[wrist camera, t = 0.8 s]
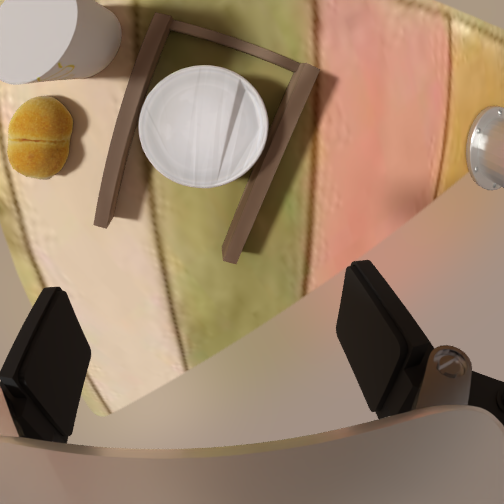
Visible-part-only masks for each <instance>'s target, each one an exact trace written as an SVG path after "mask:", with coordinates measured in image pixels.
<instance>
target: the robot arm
mask: <svg viewBox="0 0 504 504" xmlns="http://www.w3.org/2000/svg"><path fill="white" fill-rule="evenodd" d="M466 159H467V165H468V170H469V172H470V175H471V177H472V178H473V180H474V181H475V182H476V183H477V184H478V185H479V186H481V187H482V188H484V189H487V190H496V189H498V188H501V187H503V188H504V108H503V107H499V106H490V107H487V108H485V109H484V110H482V111H481V112H480V113H479V114H478V115H477V117H476V118H475V120H474V122H473V124H472V126H471V128H470V131H469V135H468V139H467V146H466ZM336 333H337V337H338V339H339V341H340V343H341V345H342V348H343V350H344V352H345V354H346V356H347V359H348V361H349V363H350V365H351V368H352V370H353V372H354V374H355V377H356V379H357V381H358V383H359V386H360V388H361V390H362V392H363V395H364V397H365V399H366V401H367V404H368V406H369V408H370V410H371V411H372V412H376V414H377V416H378V419H379V420H375V421H371V422H367V423H363V424H359V425H355V426H351V427H346V428H341V429H337V430H332V431H328V432H323V433H318V434H313V435H308V436H302V437H296V438H291V439H284V440H278V441H270V442H263V443H255V444H246V445H236V446H225V447H213V448H195V449H194V448H193V449H124V448H107V447H94V446H84V445H74V444H67V439H68V436H70V435H71V434H72V432H73V427H74V422H75V418H76V413H77V409H78V405H79V401H80V396H81V392H82V388H83V384H84V381H85V377H86V373H87V369H88V366H89V362H90V359H91V349H90V346H89V344H88V342H87V340H86V338H85V335H84V333H83V331H82V329H81V326H80V324H79V322H78V320H77V317H76V315H75V313H74V310H73V308H72V305H71V303H70V300H69V298H68V295H67V293H66V292H65V291H62V289H61V288H60V287H47V288H44V289H43V290H42V292H41V293H40V295H39V297H38V299H37V300H36V302H35V304H34V306H33V308H32V309H31V311H30V313H29V315H28V317H27V318H26V321H25V322H24V324H23V326H22V328H21V330H20V332H19V334H18V336H17V338H16V340H15V342H14V344H13V346H12V348H11V350H10V352H9V354H8V356H7V358H6V360H5V362H4V365H3V367H2V369H1V371H0V380H1V382H0V504H504V382H502V381H499V380H496V379H493V378H490V377H488V376H485V375H482V374H479V373H477V372H474V371H472V364H471V361H470V359H469V357H468V356H467V355H466V354H465V353H464V352H463V351H462V350H460V349H458V348H456V347H453V346H448V345H443V346H439V347H436V348H435V349H434V347H433V346H432V345H431V343H430V341H429V340H428V338H427V337H426V335H425V334H424V333H423V331H422V330H421V328H420V327H419V325H418V324H417V323H416V321H415V320H414V319H413V317H412V316H411V314H410V313H409V311H408V310H407V309H406V307H405V306H404V305H403V303H402V302H401V301H400V299H399V298H398V297H397V295H396V294H395V293H394V291H393V290H392V288H391V287H390V286H389V285H388V283H387V282H386V281H385V279H384V278H383V277H382V275H381V274H380V273H379V271H378V270H377V269H376V268H375V266H374V265H373V264H372V262H371V261H369V260H363V261H354V262H352V263H351V266H348V267H347V268H346V273H345V279H344V285H343V291H342V297H341V303H340V309H339V314H338V319H337V325H336ZM388 416H389V417H388ZM385 417H386V418H385ZM381 418H382V419H381ZM52 441H53V442H52Z"/></svg>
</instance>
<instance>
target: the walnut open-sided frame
mask: <svg viewBox="0 0 504 504" xmlns="http://www.w3.org/2000/svg"><path fill="white" fill-rule="evenodd" d="M170 30H172V31H175V32H179V33H183V34H187V35H190V36H194V37H197V38H201V39H204V40H207V41H211V42H214V43H217V44H220V45H223V46H226V47H229V48H232V49H235V50H238V51H241V52H244V53H246V54H249V55H252V56H255V57H257V58H260V59H262V60H265V61H268V62H270V63H273V64H275V65H278V66H280V67H282V68H285V69H287V70H289V71H292V72H294V73H293V76H292V78H291V80H290V82H289V85H288V87H287V89H286V92H285V94H284V96H283V99H282V101H281V103H280V106H279V108H278V110H277V113H276V115H275V117H274V120H273V122H272V125H271V127H270V129H269V132H268V136H267V140H266V144H265V146H264V149H263V151H262V153H261V155H260V157H259V158H258V160H257V161H256V163H255V165H254V168H253V170H252V173H251V175H250V178H249V180H248V183H247V185H246V188H245V190H244V193H243V195H242V197H241V200H240V202H239V205H238V207H237V210H236V212H235V215H234V218H233V220H232V223H231V225H230V228H229V230H228V233H227V235H226V238H225V240H224V243H223V246H222V254H223V261H226V262H229V263H233V264H237V261H238V259H239V256H240V254H241V252H242V249H243V247H244V245H245V242H246V240H247V238H248V235H249V233H250V231H251V228H252V226H253V224H254V221H255V219H256V216H257V214H258V212H259V209H260V207H261V205H262V202H263V200H264V198H265V195H266V193H267V191H268V188H269V186H270V184H271V181H272V179H273V177H274V174H275V172H276V170H277V167H278V165H279V163H280V161H281V158H282V156H283V154H284V151H285V149H286V147H287V144H288V142H289V140H290V137H291V135H292V133H293V131H294V128H295V126H296V124H297V121H298V119H299V117H300V114H301V112H302V110H303V108H304V105H305V103H306V101H307V98H308V96H309V94H310V92H311V89H312V87H313V85H314V82H315V80H316V78H317V76H318V73H319V71H320V69H318V68H316V67H314V66H312V65H310V64H307V63H301V64H300V63H298V62H295V61H293V60H291V59H288V58H286V57H284V56H281V55H279V54H276V53H274V52H272V51H269V50H266V49H264V48H261V47H259V46H256V45H253V44H251V43H248V42H245V41H242V40H239V39H237V38H234V37H231V36H228V35H225V34H222V33H218V32H215V31H212V30H209V29H205V28H202V27H199V26H195V25H191V24H188V23H184V22H180V21H176V20H173V18H172V17H171V16H169V15H165V14H161V13H156V12H155V15H154V17H153V19H152V21H151V24H150V26H149V29H148V31H147V33H146V36H145V38H144V41H143V44H142V46H141V49H140V51H139V54H138V57H137V59H136V62H135V65H134V68H133V71H132V73H131V76H130V79H129V82H128V85H127V88H126V91H125V94H124V98H123V101H122V104H121V107H120V111H119V114H118V118H117V121H116V125H115V128H114V132H113V136H112V140H111V143H110V147H109V151H108V156H107V160H106V164H105V168H104V173H103V178H102V182H101V187H100V192H99V197H98V203H97V208H96V214H95V220H94V225H95V226H99V227H102V228H106V229H107V227H108V225H109V224H110V222H111V220H112V219H113V217H114V212H115V207H116V203H117V198H118V193H119V189H120V185H121V181H122V176H123V172H124V168H125V165H126V161H127V157H128V153H129V149H130V146H131V142H132V139H133V135H134V132H135V128H136V125H137V122H138V118H139V115H140V112H141V109H142V106H143V103H144V100H145V97H146V94H147V91H148V88H149V85H150V82H151V79H152V77H153V74H154V71H155V68H156V66H157V63H158V60H159V58H160V55H161V53H162V50H163V47H164V45H165V43H166V40H167V38H168V35H169V33H170Z"/></svg>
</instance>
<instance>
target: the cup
mask: <svg viewBox="0 0 504 504" xmlns="http://www.w3.org/2000/svg"><path fill="white" fill-rule="evenodd" d="M121 38H122V31H121V25H120V23H119V20H118V19H117V17H116V16H115V15H114V14H113V13H112V12H111V11H110V10H108V9H106V8H105V7H103V6H102V5H100V4H98V3H97V2H95V1H94V0H5V1H4V2H3V4H2V5H1V6H0V80H1V81H3V82H5V83H8V84H26V83H34V82H44V81H54V80H67V79H82V78H88V77H91V76H93V75H95V74H97V73H99V72H100V71H102V70H103V69H104V68H106V67H107V66H108V65H109V64H110V62H111V61H112V60H113V59H114V57H115V56H116V54H117V52H118V49H119V47H120V43H121Z"/></svg>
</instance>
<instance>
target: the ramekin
mask: <svg viewBox="0 0 504 504" xmlns="http://www.w3.org/2000/svg"><path fill="white" fill-rule="evenodd" d="M267 136H268V115H267V111H266V108H265V105H264V102H263V100H262V98H261V96H260V95H259V93H258V92H257V90H256V89H255V88H254V87H253V86H252V84H251V83H249V82H248V81H247V80H246V79H245V78H243V77H242V76H241V75H239V74H237V73H235V72H234V71H231V70H229V69H226V68H222V67H218V66H212V65H198V66H191V67H187V68H184V69H181V70H178V71H176V72H174V73H172V74H170V75H168V76H167V77H165V78H164V79H163V80H161V81H160V82H159V83H158V84H157V85H156V86H155V87H154V88H153V89H152V91H151V92H150V93H149V94H148V96H147V98H146V100H145V102H144V104H143V107H142V110H141V113H140V118H139V137H140V141H141V144H142V148H143V150H144V153H145V154H146V156H147V158H148V159H149V161H150V162H151V163H152V165H153V166H154V167H155V168H156V169H157V170H158V171H159V172H160V173H161V174H163V175H164V176H165V177H167V178H169V179H170V180H172V181H174V182H176V183H179V184H182V185H185V186H189V187H197V188H212V187H217V186H221V185H224V184H227V183H230V182H232V181H234V180H236V179H237V178H239V177H241V176H242V175H243V174H245V173H246V172H247V171H248V170H249V169H250V168H251V167H252V166H253V165H254V164H255V162H256V161H257V160H258V158H259V157H260V155H261V153H262V151H263V149H264V146H265V144H266V140H267Z"/></svg>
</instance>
